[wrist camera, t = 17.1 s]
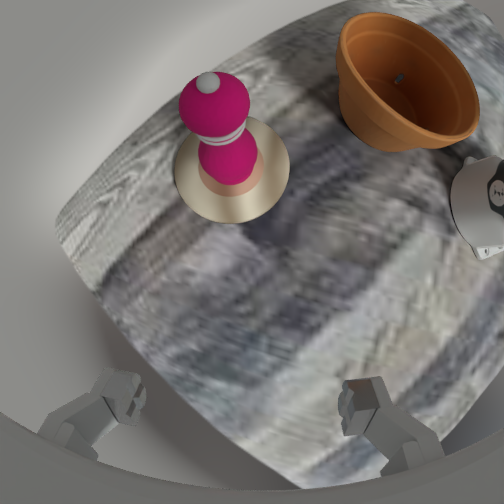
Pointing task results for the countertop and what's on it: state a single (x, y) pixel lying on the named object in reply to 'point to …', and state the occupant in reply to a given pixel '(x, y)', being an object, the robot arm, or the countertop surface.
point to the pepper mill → (220, 125)
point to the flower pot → (402, 85)
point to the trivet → (240, 195)
